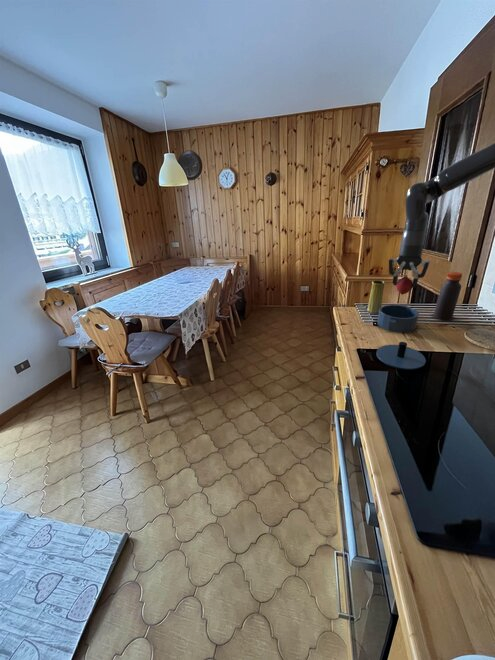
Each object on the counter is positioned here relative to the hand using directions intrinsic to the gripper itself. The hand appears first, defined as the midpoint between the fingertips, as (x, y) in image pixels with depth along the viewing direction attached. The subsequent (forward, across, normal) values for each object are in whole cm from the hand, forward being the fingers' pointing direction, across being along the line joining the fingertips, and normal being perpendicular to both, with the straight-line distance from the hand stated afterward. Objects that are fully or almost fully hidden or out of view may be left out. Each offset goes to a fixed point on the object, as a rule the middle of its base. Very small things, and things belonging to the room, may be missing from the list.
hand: (404, 285), depth 112 cm
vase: (+18, -12, +11) cm, 24 cm away
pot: (+18, 0, 0) cm, 18 cm away
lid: (+17, +7, -26) cm, 32 cm away
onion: (+4, 0, 0) cm, 4 cm away
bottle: (+18, +15, +17) cm, 29 cm away
